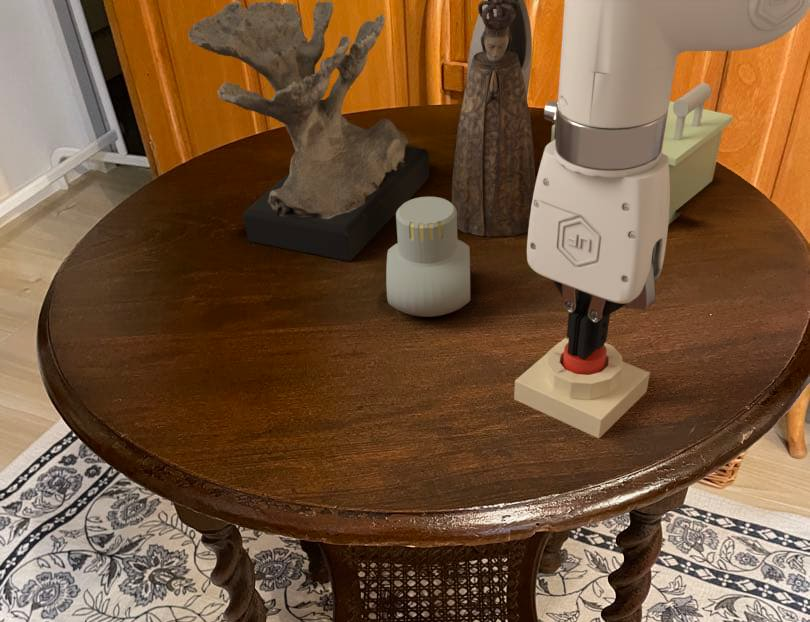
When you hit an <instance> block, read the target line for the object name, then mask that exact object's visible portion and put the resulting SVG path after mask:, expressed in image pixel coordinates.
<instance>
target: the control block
mask: <svg viewBox="0 0 810 622" xmlns="http://www.w3.org/2000/svg"><path fill="white" fill-rule="evenodd" d="M568 342H569V338H567V337H565V338H563V339H562V340H561V341H559V342H557V343H556V344H555V345H554V346H553V347H552V348H550V349H549V350H548V351H547V352H546V353H545V355H543V356H542V357H541V358H540V359H538V360H536V362H535V363H534V364H533V365H531V366H530V367H529V368H528V369H527V370H525V371H524V372H523V373H522V374H521V375H520V376H519V377H517V378H516V379H515V380H514V393H513V394H514V396H513V400H515V401H516V402H519V403H521V404H523V405H525V406H528V407H529V408H532V409H534V410H536V411H539V412H540V413H543V414H545V415H547V416H549V417H551V418H554V419H555V420H558V421H560V422H562V423H563V424H566V425H569V426H570V427H573V428H575V429H577V430H579V431H581V432H583V433H586V434H588V435H590V436H592V437H595V438H597V439H600V438H601V437H602V436H603V435H604V434H605V433H606V432H608V430H609V429H610V428H611V427H613V425H614V424H615V423H617V422H618V420H620V418H622V417H623V416H624V415H625V414H626V413H627V412H628V411H629V410H630V409H631V408H632V407H633V406H634V405H635V404H636V403H637V402H638V401H639V400H640V399H641V398H642V397H643V396H644V395H645V394H646V393H647V391H648V385H649V380H650V376H651V375H650V374H651V372H650V371H647V370H645V369H642V368H640V367H638V366H635V365H633V364H630V363H628V362H625V361H623V355H622V354H621V353H620V352H619V351H618V350H617V349H616V347H614V345H611V344H609V343H607V342H605V344H604V345H605V347H606V350H607V352H606V359H605V367H604V370H603V371H602V372H599V373H595V374H591V375H582V374H575V373H573V372H570V371H568V370H566V369H565V368H564V367H563V358H564V348H565V346H566V344H567V343H568Z"/></svg>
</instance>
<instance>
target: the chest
mask: <svg viewBox="0 0 810 622" xmlns="http://www.w3.org/2000/svg"><path fill="white" fill-rule="evenodd" d="M723 131H724V129H723V130H721V131H720V132H719V133H718V134H716V135H715V136H714V137H712V138H711V139H710V140H708V141H707V142H706V143H705V144H703V145H702V146H701V147H699V148H698V149H697V150H695V151H694V152H693V153H691V154H690V155H689V156H688V157H686V158H685V159H684V160H682V161H681V162H680V163H678V164H677V165H676V166H673V165H669V175H670V207H669V223H668V226H669V225H670V224H671V223H673V222H674V221H675V220H676V219H677V218H679V217H680V216H681V215H682V214H683V213H681V212H678V211H677V210H678V209H680V208H681V207H683V205H684V204H686V203H687V202H688V201H690V200H691V199H692V198H693V197H695V196H696V195H697V194H698V193H700V192H701V191H702V190H703V189H704V188H706V187H707V186H708V185H709V184H711V183H712V181H713V180H714V174H715V170H716V165H717V160H718V155H719V150H720V145H721V141H722V138H723V137H722V136H723ZM554 140H556V139H554V134H553V133H552V132H551V139H550V142H552V141H554Z"/></svg>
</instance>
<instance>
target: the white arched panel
mask: <svg viewBox="0 0 810 622" xmlns="http://www.w3.org/2000/svg"><path fill="white" fill-rule="evenodd" d="M485 1H488V0H485ZM514 1H516V2H517V4H518V7H517V8H518V9H517V12H516V14H515V18H514V20H513V22H512V23H511V25H510V26H509V33H510V34H511V37H512V42H511V45H510V48H509V51H512V52H515V53H517V55H518V58H519V62H520V66H521V70H522V74H523V79H524V84H525V91H526V95H527V96H528V95H529V88H530V81H531V79H530V78H531V71H532V58H533V57H532V56H533V37H532V35H533V34H532V28H531V21H530V20H531V19H530V15H529V12H528V9H527V5H526V1H525V0H514ZM508 5H510V6H511V7H513V9H514V5H511V4H508ZM487 6H488V5H483V6H482V10H484V9H485V8H486V7H487ZM493 12H494V16H495V17H497V12H496V9H493ZM488 15H489V13H488V14H487V19H489V16H488ZM510 15H511V14H510V12H509V11H508V10H507V11H506V16H505V19H508V18H509V17H510ZM484 30H485V24H484V22H483V20H482V17H481V16H480V14H479V13H478V16H477V19H476V22H475V25H474V29H473V33H472V37H471V40H470V41H471V42H470V46H469V52H468V60H467V69H466V81H465V82H466V83H465V85H466V84H467V80H468V76H469V71H470V68H471V64H472V59H473V57H474V55H475V54H477V53H480V52H483V49H482V44H481V36H482V34H483V32H484Z"/></svg>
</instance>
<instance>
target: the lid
mask: <svg viewBox="0 0 810 622" xmlns="http://www.w3.org/2000/svg"><path fill="white" fill-rule="evenodd" d="M712 90H713V89H712V87H711V85H710V84H708V83H707V82H701V83H699V84H698V85H696V86H695V87H694V88H692V89H690V90H689V91H688V92H686V93H685V94H683V95H682V96H681V97H679V98H677V99H675V101H671V100H670V103H669V108H668V115H667V121H666V128H665V134H664V140H663V146H662V152H661V153H663V154H665V155H667V156H668V162H669V165H673V166H676V165H677V164H678V163H680V162H681V161H682V160H684V159H685V158H686V157H688V156H689V155H690V154H691V153H693V152H694V151H695V150H697V149H698V148H699V147H701V146H702V145H703V144H705V143H706V142H707V141H708V140H710V139H711V138H712V137H714V136H715V135H716V134H718V133H719V132H720V131H721V130H723V131H724V130H725V129H726V128H727V127H728V126H729V125H731V124H732V123H733V118H734V116H733V115H732V114H728V113H723V112H719V111H716V110H715V111H714V110H710V109H706V108H705V107H704V106H705V103H706V102H707V101H709V99H710V98H711V97H712V93H713V92H712ZM552 133H553V134H555V124H552V125H551V134H552Z"/></svg>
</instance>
